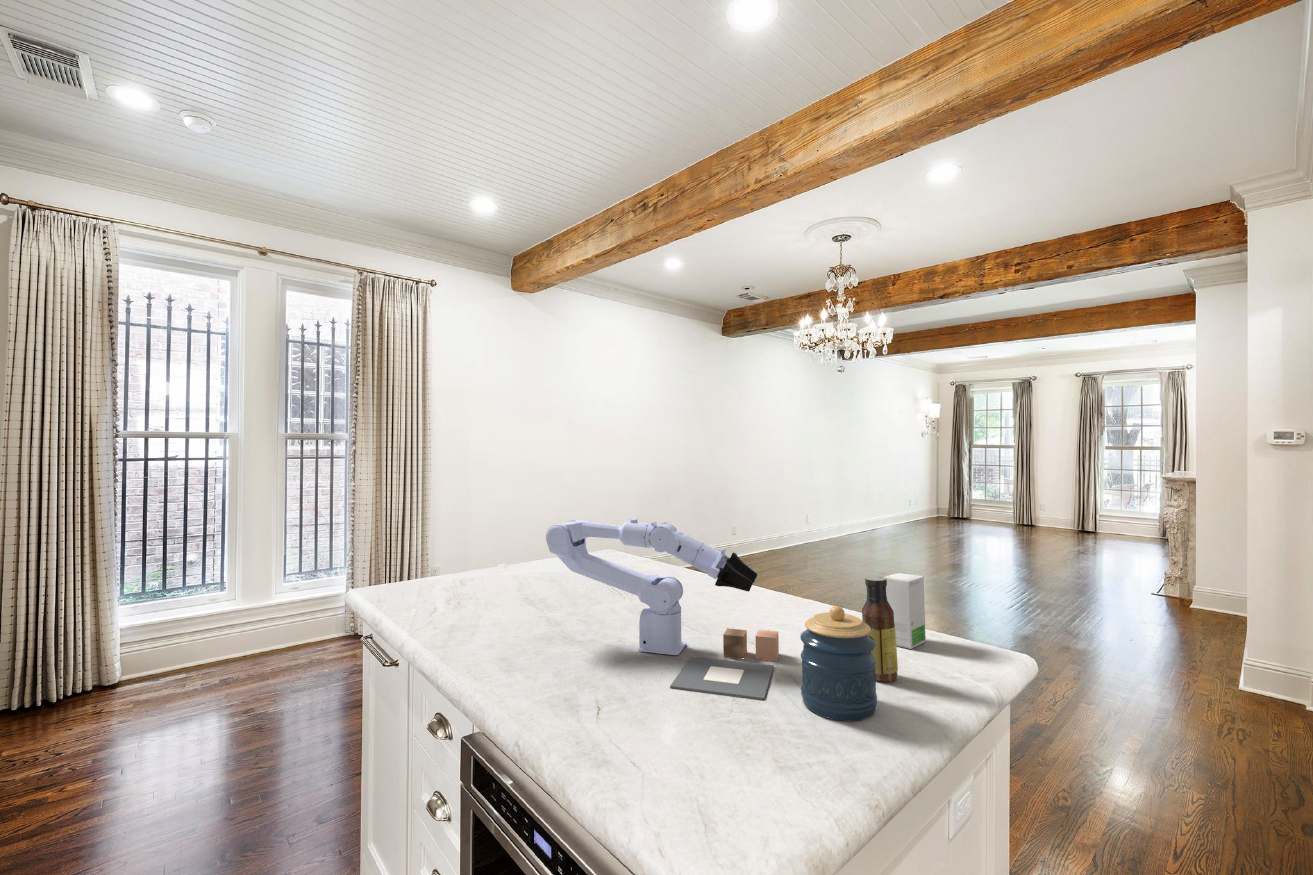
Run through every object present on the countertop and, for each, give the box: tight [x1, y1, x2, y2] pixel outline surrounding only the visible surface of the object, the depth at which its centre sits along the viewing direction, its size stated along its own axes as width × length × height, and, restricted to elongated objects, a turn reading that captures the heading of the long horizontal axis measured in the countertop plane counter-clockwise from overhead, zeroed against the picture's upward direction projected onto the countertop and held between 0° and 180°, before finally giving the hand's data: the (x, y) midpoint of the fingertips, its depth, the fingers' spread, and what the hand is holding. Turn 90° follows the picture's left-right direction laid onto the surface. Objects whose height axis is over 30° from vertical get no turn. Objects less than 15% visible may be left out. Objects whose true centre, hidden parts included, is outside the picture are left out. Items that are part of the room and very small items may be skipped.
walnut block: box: [722, 627, 748, 659], centre depth 124 cm, size 4×4×5 cm
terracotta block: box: [755, 629, 780, 662], centre depth 123 cm, size 4×4×5 cm
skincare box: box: [884, 572, 927, 650], centre depth 131 cm, size 8×7×16 cm
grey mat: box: [669, 655, 775, 701], centre depth 112 cm, size 18×16×1 cm
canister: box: [799, 605, 878, 722], centre depth 99 cm, size 13×13×18 cm
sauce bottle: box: [861, 575, 899, 683], centre depth 111 cm, size 7×6×20 cm
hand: (753, 582), depth 122 cm, fingers open, 7 cm apart
